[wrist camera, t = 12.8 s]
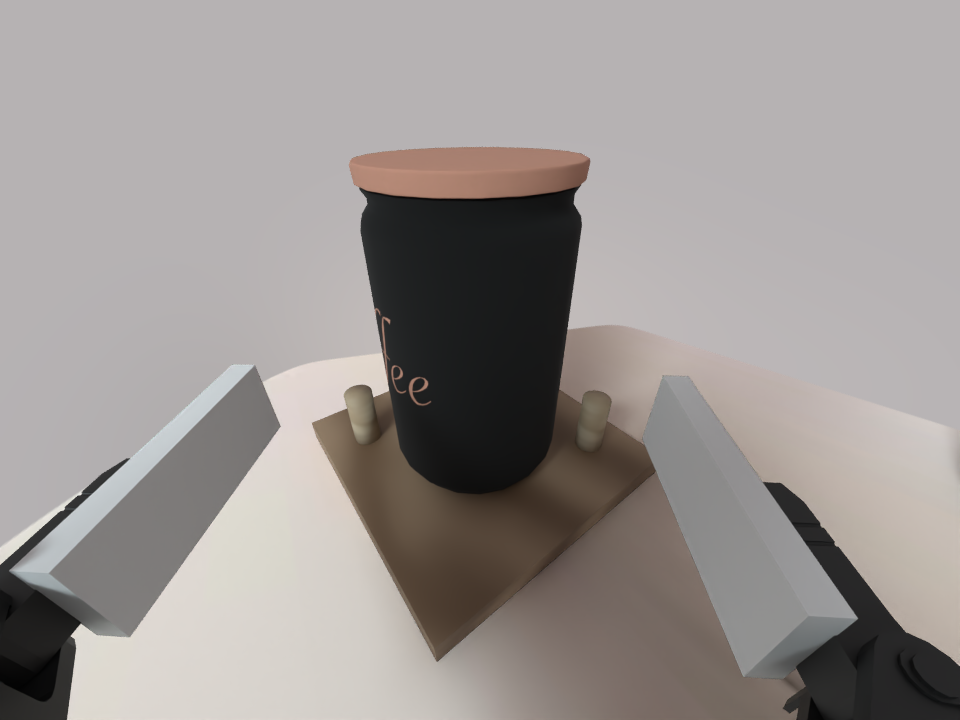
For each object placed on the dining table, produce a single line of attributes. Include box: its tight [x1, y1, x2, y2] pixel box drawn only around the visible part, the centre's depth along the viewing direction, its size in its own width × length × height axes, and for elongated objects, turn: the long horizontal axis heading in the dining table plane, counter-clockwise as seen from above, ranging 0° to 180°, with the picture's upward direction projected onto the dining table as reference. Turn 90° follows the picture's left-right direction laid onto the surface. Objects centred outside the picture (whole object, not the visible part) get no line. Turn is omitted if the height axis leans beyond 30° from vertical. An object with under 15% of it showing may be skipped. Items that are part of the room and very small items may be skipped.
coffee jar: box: [349, 147, 590, 494], centre depth 22 cm, size 11×11×18 cm
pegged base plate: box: [312, 385, 656, 661], centre depth 26 cm, size 18×18×6 cm
